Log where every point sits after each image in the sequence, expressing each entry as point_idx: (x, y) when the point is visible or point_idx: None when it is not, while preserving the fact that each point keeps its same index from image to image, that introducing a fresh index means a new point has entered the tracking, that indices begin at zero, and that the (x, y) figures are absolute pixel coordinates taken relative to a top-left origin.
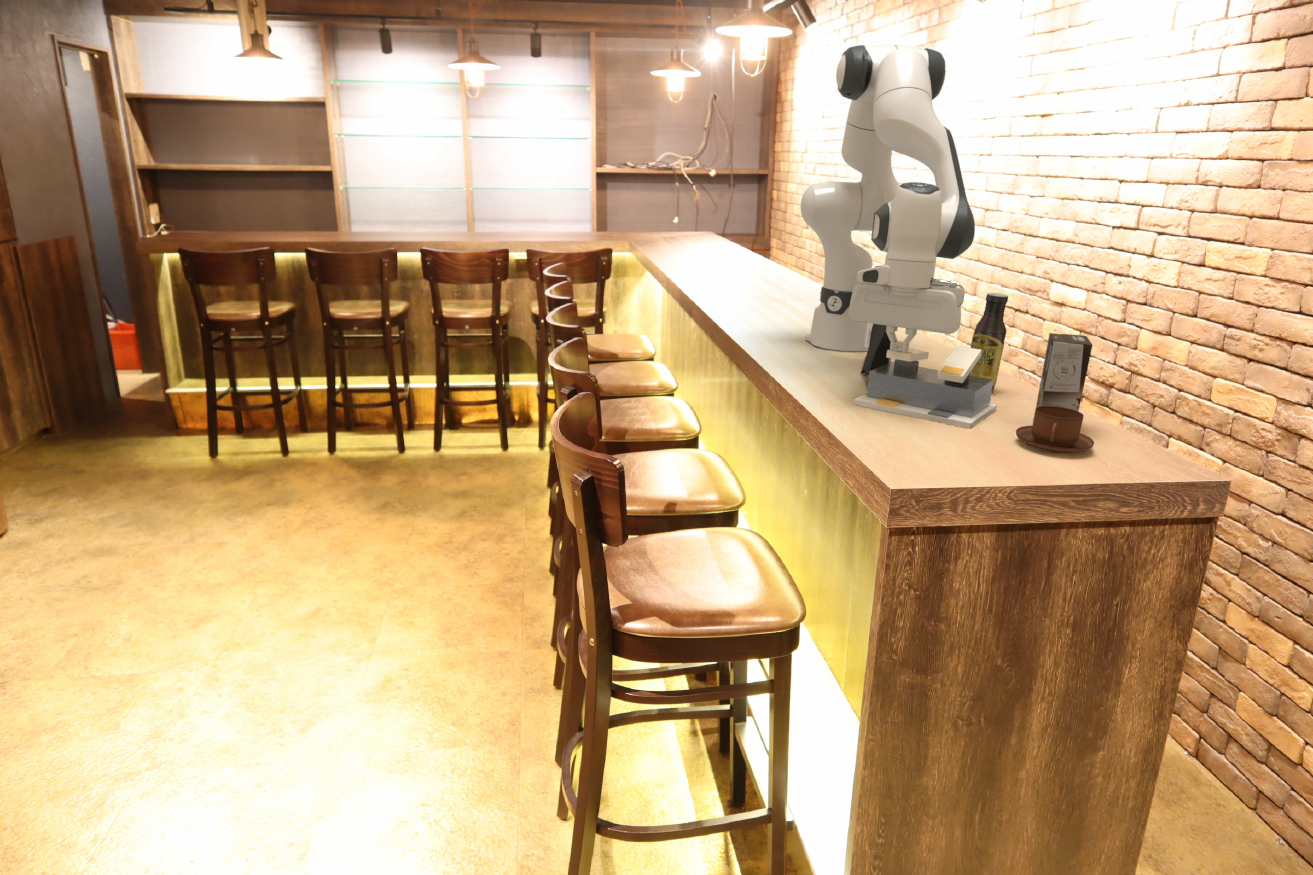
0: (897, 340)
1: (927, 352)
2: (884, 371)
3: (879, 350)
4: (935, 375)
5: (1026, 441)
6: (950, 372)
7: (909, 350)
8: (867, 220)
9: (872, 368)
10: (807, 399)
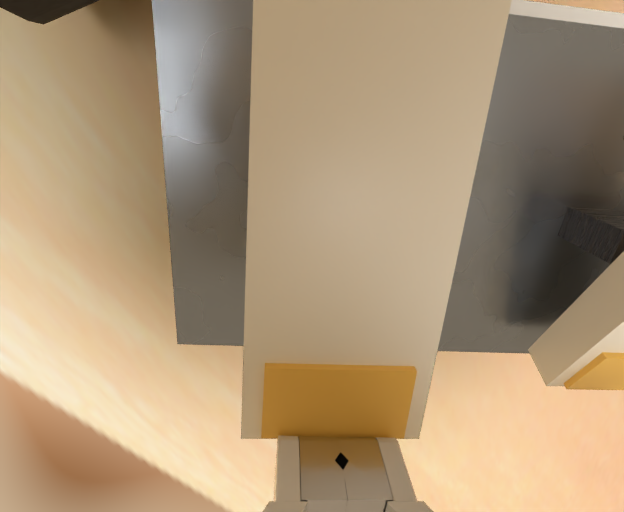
0: (307, 505)
1: (500, 43)
2: (238, 296)
3: None
4: (508, 196)
5: None
6: (617, 387)
7: (349, 188)
8: None
9: (50, 19)
10: (43, 365)
